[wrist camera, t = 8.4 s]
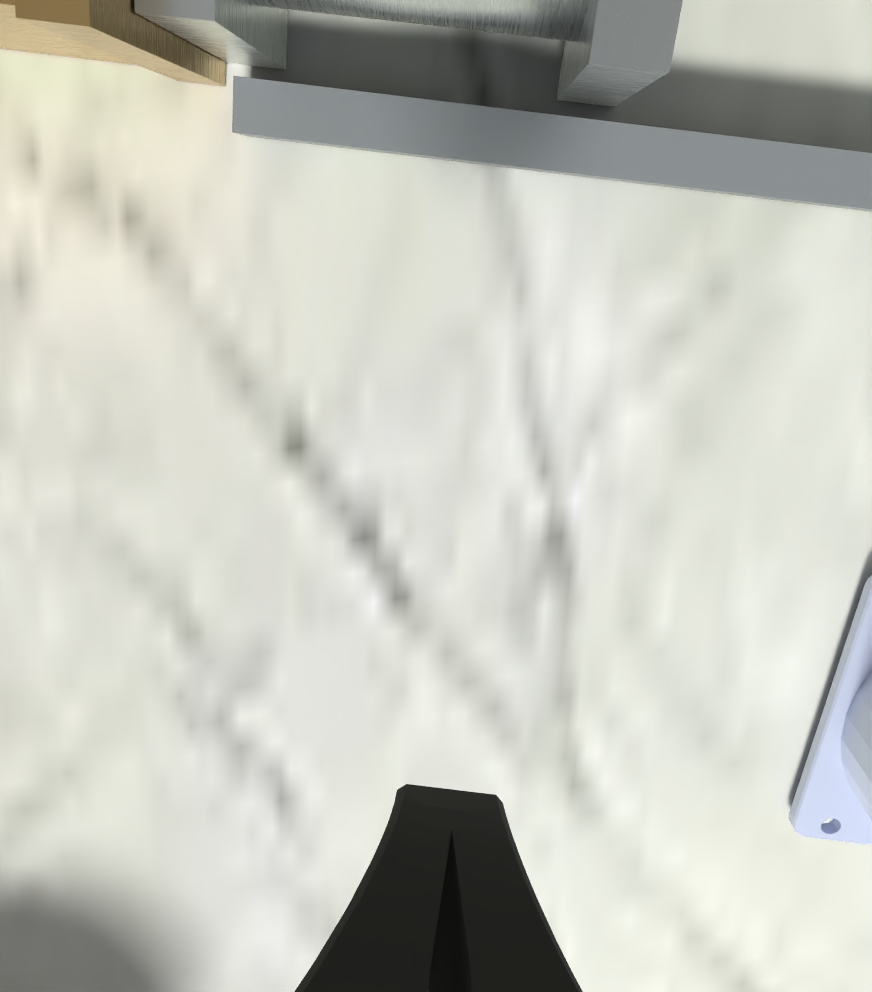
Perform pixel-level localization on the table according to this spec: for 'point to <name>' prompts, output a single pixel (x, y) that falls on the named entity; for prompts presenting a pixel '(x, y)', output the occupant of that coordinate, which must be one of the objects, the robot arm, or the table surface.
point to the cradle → (552, 143)
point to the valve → (105, 37)
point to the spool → (464, 5)
